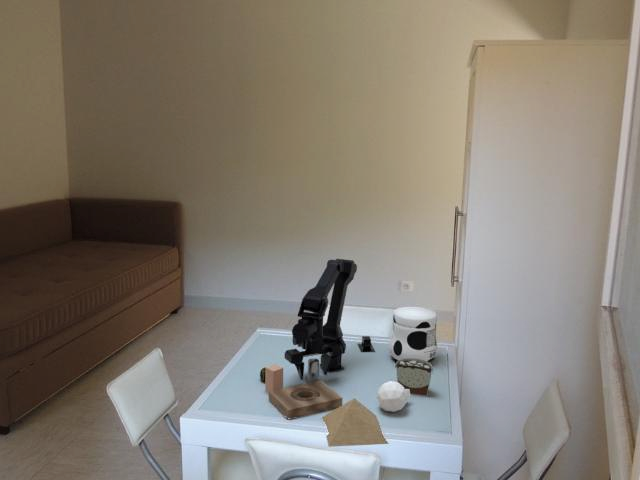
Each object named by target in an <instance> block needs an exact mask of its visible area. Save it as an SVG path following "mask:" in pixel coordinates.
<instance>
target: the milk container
mask: <svg viewBox="0 0 640 480" xmlns="http://www.w3.org/2000/svg"><path fill="white" fill-rule="evenodd" d="M392 317H393V318H392V320H393V321H392V334H391V338H390V342H389V353H390V355H391V357H392V358H393V359H394V360H396V362H397V361H399V360H401V359H406V358H415V359H421V360H425V361H427V362H429V363H430V364H431V362H433V361H434V360H435V359H436V357H437V355H438V342H437V337H436V336H437V335H436V333H437V313H436V312H435V311H434V310H432V309H429V308H426V307H422V306H421V307H420V306H401V307H398V308H396V309H395V310H394V311H393V316H392Z"/></svg>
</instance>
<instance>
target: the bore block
mask: <svg viewBox="0 0 640 480" xmlns="http://www.w3.org/2000/svg"><path fill="white" fill-rule="evenodd" d="M268 401H269V402H270V403H271V404H272V405H273V406H274V407H275V408H276V409H277V410H278V411H279V413H281V414H282V416H284V417H285V416H286V417H287V418H294V417H298V418H301V416H302V417H306V416H310V415H314V414H319V413H323V412H328V411H333V410H335V409H337V408H338V407H340V406H342V405H343V397H342V396H341V395H339V394H338V393H337V392H336V391H334V390H333V389H332V388H331V387H329V385H326V383H324V382H323V381H322V380H319V381H316V382H311V383H308V382H307V383H303V384H302V383H301V384H296V385H291V386H287V387H283V388H281V389H276V390H271V391H269V393H268ZM286 417H285V418H286ZM287 418H286V419H287ZM294 419H295V418H294Z"/></svg>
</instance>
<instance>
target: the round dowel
mask: <svg viewBox="0 0 640 480" xmlns="http://www.w3.org/2000/svg"><path fill="white" fill-rule="evenodd" d="M319 370H320V360H319V358H309V359H308V360H307V383H311V382H316V381H320V380H319V379H320V378H319V377H320V371H319Z"/></svg>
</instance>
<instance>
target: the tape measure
mask: <svg viewBox="0 0 640 480" xmlns="http://www.w3.org/2000/svg"><path fill="white" fill-rule="evenodd" d="M259 378H260V379H261V381H263V382H265V367H262V368H261V370H260V371H259Z"/></svg>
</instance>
